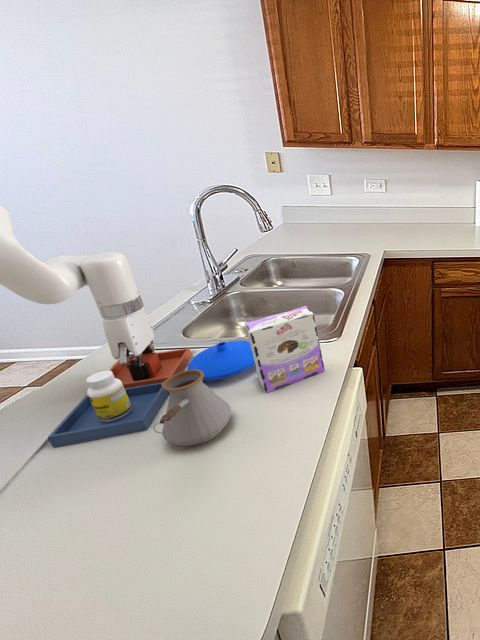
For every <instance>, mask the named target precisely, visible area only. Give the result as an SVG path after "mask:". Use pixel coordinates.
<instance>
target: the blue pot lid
mask: <svg viewBox="0 0 480 640" xmlns="http://www.w3.org/2000/svg"><path fill="white" fill-rule="evenodd" d="M254 365H255V361H254V357H253V353H252V349H251V346H250V342H249V340H232V341H220V342H218V343H216V344H215V345H212V346H210V347H208V348H205V349H203V350H202V351H200V352H199V353H197V354H196V355H194V357H192V358H191V360H190V361H189V363H188V364H187V370H195V369H196V370H201V371H202V372H203V373H204V377H203V379H202V381H216V380H223V379H226V378H230V377H233V376H236V375H238V374H241V373H243V372H244V371H247V370H249V368H251V367H253V366H254Z"/></svg>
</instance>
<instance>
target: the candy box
mask: <svg viewBox="0 0 480 640" xmlns="http://www.w3.org/2000/svg"><path fill="white" fill-rule="evenodd" d="M244 326H245V330H246V333H247V338H248V341H249V342H250V346H251V349H252V353H253V357H254V361H255V364H254V365H255V369H256V372H257V376H258V380H259V384H260V385H261V387H262V390H263V391H264V394H268V393H271V392H274V391H277V390H278V389H281V388H284V387H286V386H288V385H291V384H294V383H298V382H299V381H301V380H304V379H306V378H309V377H311V376H314V375H316V374H320V373H322V372H324V371H325V364H324V359H323V355H322V349H321V345H320V339H319V335H318V328H317V324H316V318H315V313H314V312H313V311H311V309H310V308H309V307H308V306H307V305H303V306H301V307H297V308H294V309H291V310H287V311H283V312H280V313H276V314H272V315H268V316H265V317H263V318H258V319H255V320H252V321H251V320H250V321H247V322H244Z"/></svg>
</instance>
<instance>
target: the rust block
mask: <svg viewBox="0 0 480 640" xmlns="http://www.w3.org/2000/svg"><path fill="white" fill-rule="evenodd" d="M157 353H158V352H155V353H149V354H142V359H143V364H146V365H147V368H148V371H149V373H150V376H151V377H150V378H153V377H155V376H156V375H157V373H158V372H159V370H160V369H161V368H162V367H161V364H160V361H159V358H158V355H157ZM132 360H136V361H137V358H136V357H133V359H132ZM128 370H129V372H130V369H129V368H128ZM130 375H131V377H132V374H131V372H130ZM132 380H133V381H134V379H133V377H132Z"/></svg>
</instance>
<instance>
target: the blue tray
mask: <svg viewBox="0 0 480 640" xmlns="http://www.w3.org/2000/svg"><path fill="white" fill-rule="evenodd" d="M162 383H163V382H162ZM162 383H155V384H149V385H143V386H137V387H131V388H125V391H126V393H127V396H128V398H129V400H130V403H131V405H132V410H131V411H130V412H129V413H128V414H127V415H126V416H124V417H122V418H120V419H118V420H115V421H111V422H102V421H100V420H99V418H98V416H97V414H96V412H95V410H94V408H93V406H92V403H91V401H90V399H89V397H88V395H87V394H86V395H85V396H84V397H83V398H82V399H81V400H80V401H79V402H78V403H77V404H76V406H75V407H74V408H73V409H72V410H71V411H70V412H69V414H68V415H66V417H64V418H63V420H62V421H61V422H60V423H59V424H58V425H57V426H56V428H55V429H53V431H52V432H51V433H50V434H49V435H48V436H47V440H48V441H49V443H50V445H51V446H52V448H53V449H54V448H58V447H65V446H70V445H74V444H80V443H86V442H90V441H95V440H101V439H106V438H110V437H111V438H112V437H116V436H121V435H127V434H133V433H137V432H142V431H143V432H144V431H148V429H149V427H150V426H151V425H152V422H153V421H154V420H155V418H156V416H157V414H158V413H159V411H160V409H161V408H162V407H163V404H164V403H165V402H166V400H167V398H168V397H169V396H170V392H169V391H167V390H165V389H164V388H163V387H162V386H161V384H162Z"/></svg>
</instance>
